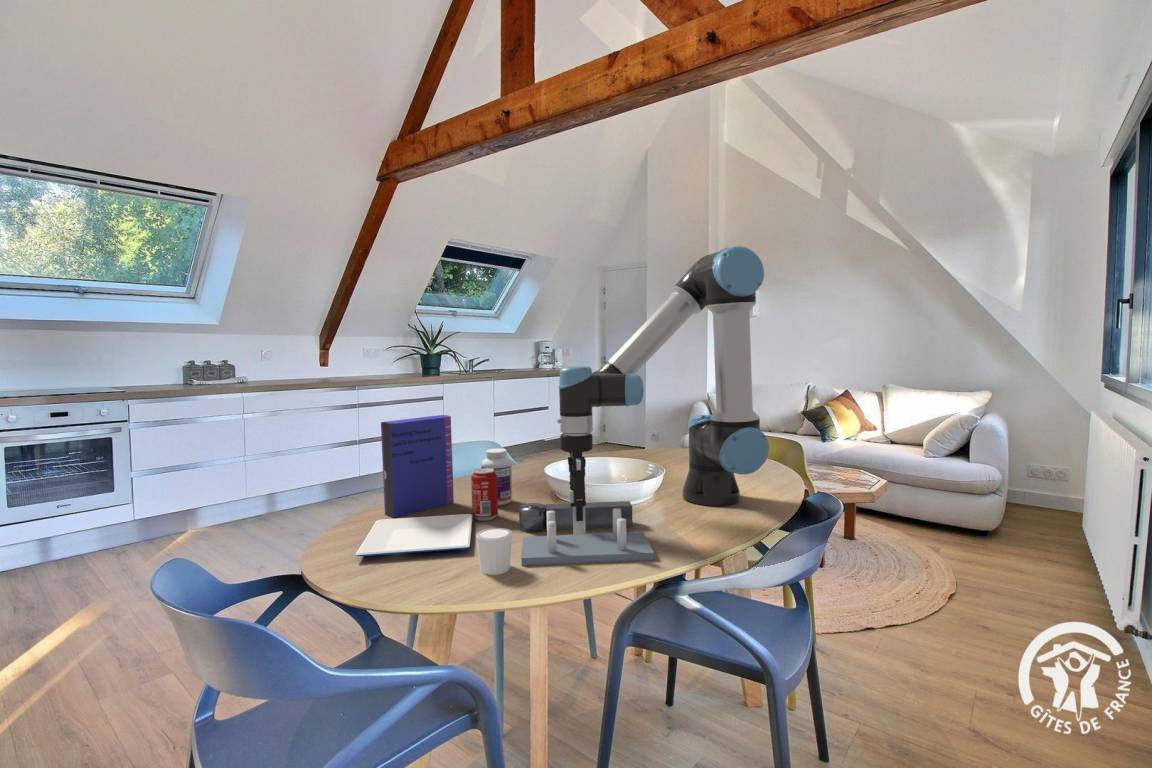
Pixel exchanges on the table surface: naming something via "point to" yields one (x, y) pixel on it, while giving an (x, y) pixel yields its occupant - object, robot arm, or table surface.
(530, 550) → the peg rack
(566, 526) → the dark grey bar
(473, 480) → the beverage can
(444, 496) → the blue book
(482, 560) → the white cup
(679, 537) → the table surface
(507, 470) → the pill bottle
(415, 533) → the plate
